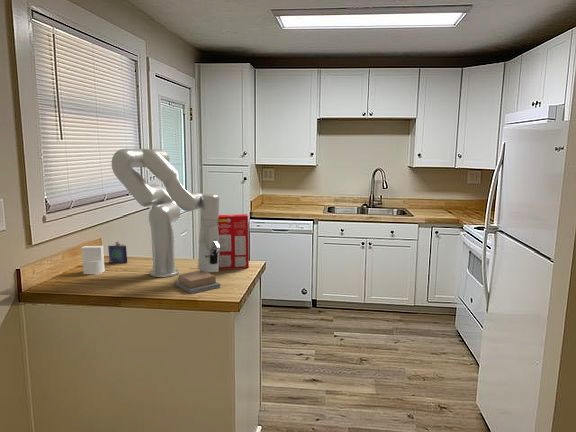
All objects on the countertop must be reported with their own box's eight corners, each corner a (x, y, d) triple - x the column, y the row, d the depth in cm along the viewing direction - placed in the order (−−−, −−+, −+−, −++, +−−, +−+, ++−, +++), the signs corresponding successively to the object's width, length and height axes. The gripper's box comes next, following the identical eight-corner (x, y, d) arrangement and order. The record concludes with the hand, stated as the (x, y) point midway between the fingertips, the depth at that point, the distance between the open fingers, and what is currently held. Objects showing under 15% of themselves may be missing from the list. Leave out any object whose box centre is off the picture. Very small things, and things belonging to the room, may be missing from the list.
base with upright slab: (107, 269, 207) (106, 244, 205) (100, 274, 198) (98, 248, 196) (88, 269, 207) (86, 244, 205) (80, 275, 198) (78, 249, 196)
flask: (108, 263, 218) (106, 242, 217) (111, 261, 221) (109, 240, 220) (125, 263, 217) (124, 242, 216) (128, 262, 220) (127, 241, 219)
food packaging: (247, 265, 214) (247, 214, 210) (248, 268, 209) (247, 215, 205) (217, 266, 212) (215, 215, 208) (217, 269, 207) (215, 216, 203)
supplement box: (202, 273, 191) (203, 244, 189) (197, 268, 197) (198, 241, 195) (219, 271, 194) (220, 243, 192) (213, 267, 200) (214, 240, 199)
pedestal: (174, 284, 183) (174, 274, 182) (202, 279, 191) (202, 269, 190) (191, 293, 171) (190, 282, 171) (220, 287, 180) (220, 276, 179)
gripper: (192, 219, 196) (192, 257, 199) (212, 226, 183) (210, 267, 186) (207, 218, 201) (206, 256, 204) (227, 225, 188) (226, 265, 191)
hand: (208, 261), depth 195 cm, fingers closed on supplement box, 8 cm apart
